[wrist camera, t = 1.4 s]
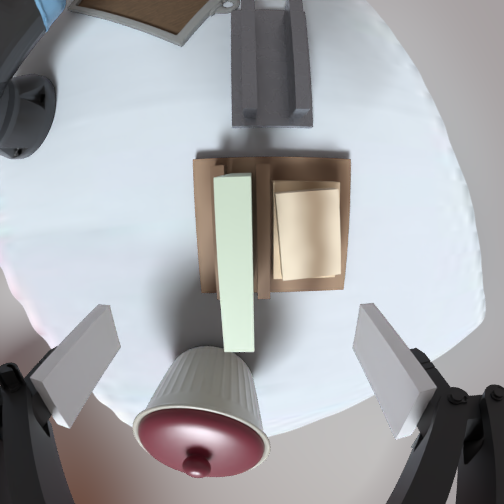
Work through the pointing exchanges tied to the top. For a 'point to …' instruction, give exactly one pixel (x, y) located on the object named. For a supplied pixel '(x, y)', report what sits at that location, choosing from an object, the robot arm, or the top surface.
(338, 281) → the rack
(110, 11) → the grey brown flat board
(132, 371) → the top surface
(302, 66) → the stand
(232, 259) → the panel
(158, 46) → the top surface
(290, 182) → the offcut lower
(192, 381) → the canister
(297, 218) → the offcut upper
